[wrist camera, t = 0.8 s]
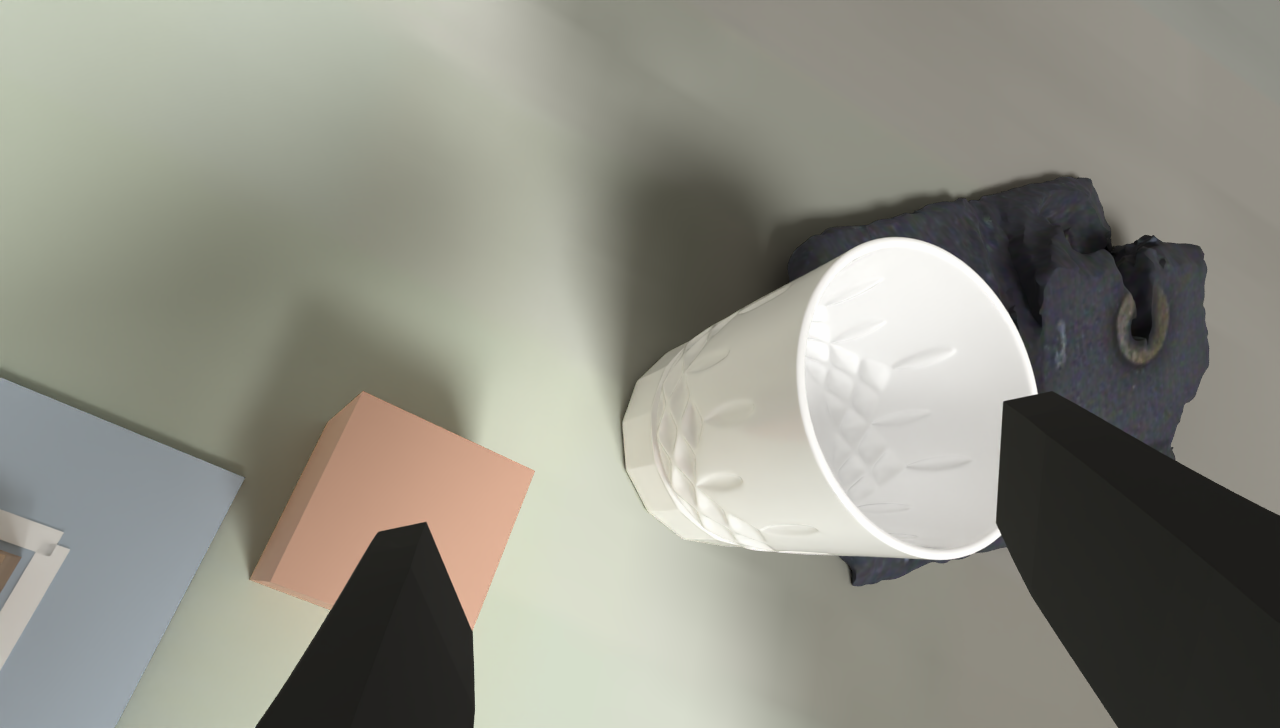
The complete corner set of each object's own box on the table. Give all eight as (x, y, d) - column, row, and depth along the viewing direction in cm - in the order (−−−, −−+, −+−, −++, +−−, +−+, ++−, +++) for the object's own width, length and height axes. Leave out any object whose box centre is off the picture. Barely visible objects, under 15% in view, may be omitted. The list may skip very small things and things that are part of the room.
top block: (409, 639, 25) (463, 653, 20) (248, 579, 23) (269, 581, 19) (472, 487, 26) (534, 471, 22) (327, 422, 25) (363, 390, 20)
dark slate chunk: (729, 200, 33) (809, 149, 29) (1092, 184, 44) (1188, 144, 40) (823, 613, 32) (922, 620, 28) (1176, 491, 43) (1286, 483, 38)
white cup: (770, 598, 30) (1016, 608, 22) (569, 508, 27) (759, 479, 19) (824, 390, 33) (1060, 325, 24) (647, 290, 30) (843, 178, 22)
